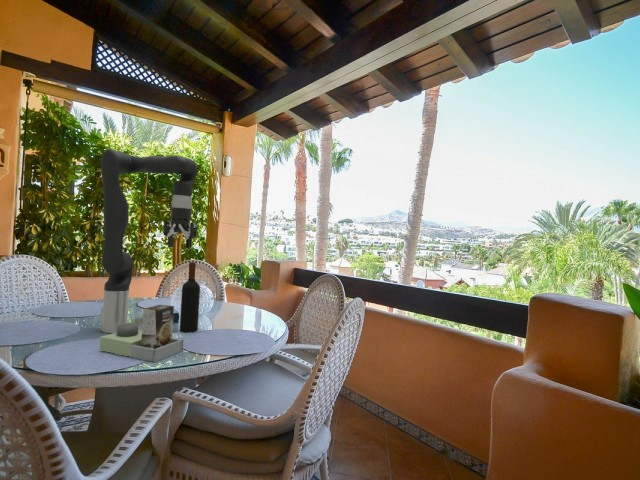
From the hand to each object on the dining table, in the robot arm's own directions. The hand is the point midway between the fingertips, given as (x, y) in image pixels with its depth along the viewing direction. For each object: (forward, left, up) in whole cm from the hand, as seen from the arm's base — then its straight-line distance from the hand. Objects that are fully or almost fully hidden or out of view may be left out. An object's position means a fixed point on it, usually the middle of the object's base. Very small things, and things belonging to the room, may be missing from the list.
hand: (179, 247), depth 150 cm
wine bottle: (-4, +14, -37) cm, 40 cm away
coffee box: (+6, -17, -37) cm, 41 cm away
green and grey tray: (+1, -17, -37) cm, 41 cm away
